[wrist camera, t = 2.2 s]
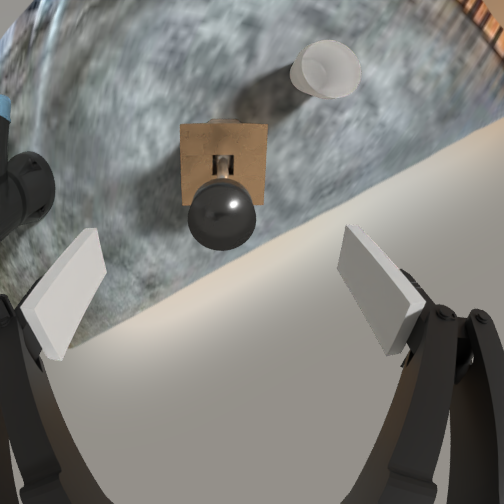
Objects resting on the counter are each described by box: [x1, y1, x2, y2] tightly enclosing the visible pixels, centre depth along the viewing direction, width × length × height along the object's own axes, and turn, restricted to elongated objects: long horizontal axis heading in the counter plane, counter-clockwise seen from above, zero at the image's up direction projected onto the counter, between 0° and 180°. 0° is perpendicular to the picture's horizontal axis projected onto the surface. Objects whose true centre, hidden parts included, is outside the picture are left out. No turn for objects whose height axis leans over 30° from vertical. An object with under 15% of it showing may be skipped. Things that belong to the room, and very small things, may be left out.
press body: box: [180, 119, 268, 206], centre depth 40 cm, size 10×13×15 cm
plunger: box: [188, 155, 256, 251], centre depth 27 cm, size 8×8×20 cm
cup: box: [290, 40, 361, 99], centre depth 36 cm, size 9×9×12 cm
